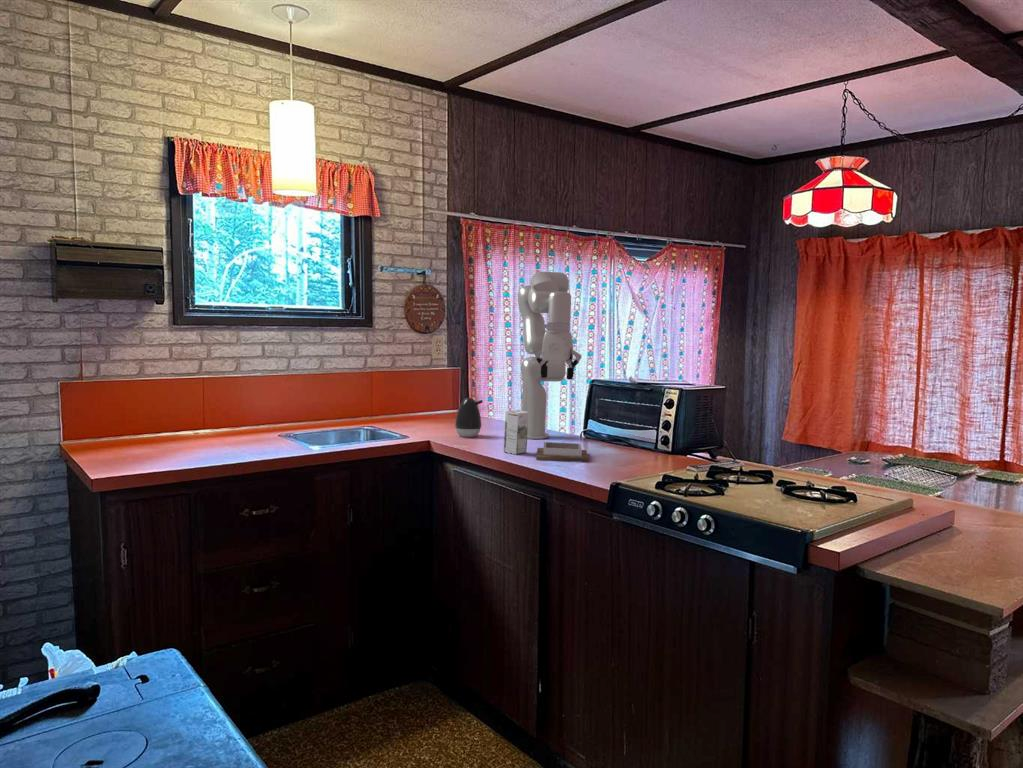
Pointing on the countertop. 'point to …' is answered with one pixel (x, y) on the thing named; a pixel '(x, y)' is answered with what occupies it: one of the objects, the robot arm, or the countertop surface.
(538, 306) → the robot arm
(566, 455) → the tray
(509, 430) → the syrup box
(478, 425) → the pump dispenser
